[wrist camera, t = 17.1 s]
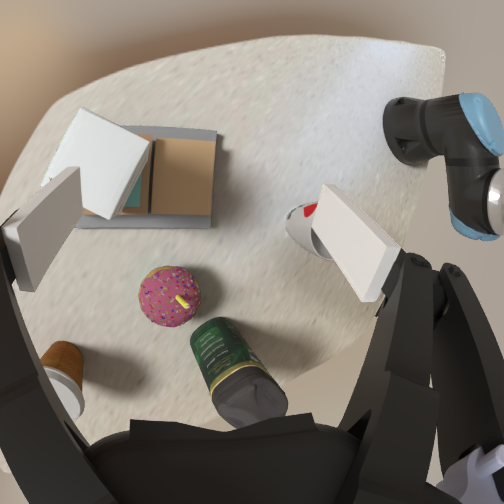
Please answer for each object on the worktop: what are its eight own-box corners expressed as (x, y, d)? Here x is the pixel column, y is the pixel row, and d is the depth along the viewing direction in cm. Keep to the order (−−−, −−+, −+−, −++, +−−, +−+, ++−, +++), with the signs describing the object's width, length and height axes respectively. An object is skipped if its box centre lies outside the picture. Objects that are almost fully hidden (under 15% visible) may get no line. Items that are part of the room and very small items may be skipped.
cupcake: (166, 247, 41) (175, 266, 30) (206, 285, 44) (228, 316, 33) (127, 288, 40) (123, 322, 29) (168, 324, 43) (178, 365, 32)
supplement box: (121, 214, 33) (109, 224, 21) (71, 188, 30) (35, 186, 18) (150, 160, 32) (153, 141, 21) (100, 134, 30) (79, 104, 18)
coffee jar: (180, 338, 44) (206, 414, 27) (219, 308, 46) (265, 371, 29) (215, 373, 48) (254, 447, 31) (251, 346, 49) (303, 411, 32)
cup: (316, 195, 48) (354, 198, 39) (321, 242, 50) (358, 253, 41) (273, 202, 46) (306, 205, 36) (279, 252, 48) (312, 266, 38)
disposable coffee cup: (72, 389, 39) (62, 436, 28) (31, 353, 35) (9, 394, 24) (103, 360, 40) (97, 407, 29) (60, 320, 37) (39, 359, 26)
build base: (214, 133, 40) (225, 124, 35) (208, 227, 43) (217, 232, 37) (80, 128, 33) (70, 119, 28) (73, 226, 35) (63, 231, 30)
